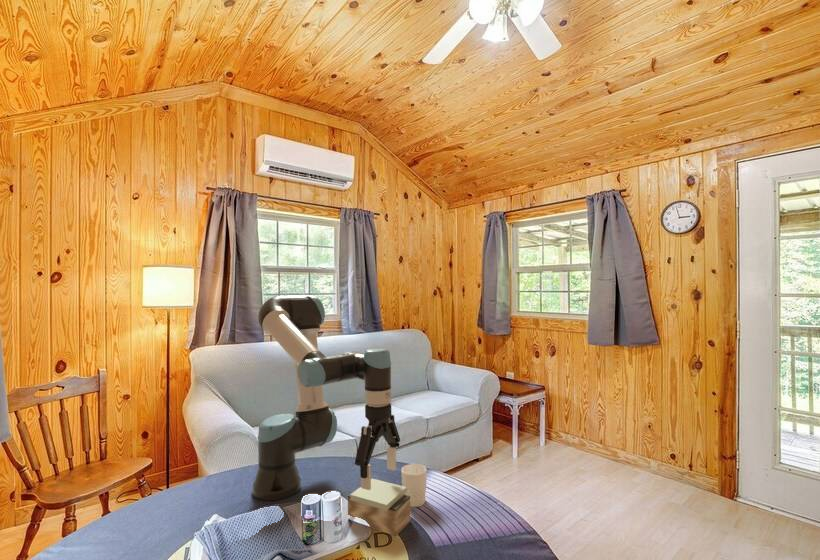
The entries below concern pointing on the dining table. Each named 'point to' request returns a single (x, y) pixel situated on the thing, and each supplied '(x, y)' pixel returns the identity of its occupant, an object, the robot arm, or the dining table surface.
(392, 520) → the stand
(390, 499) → the cover board
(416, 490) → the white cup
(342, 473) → the dining table surface
